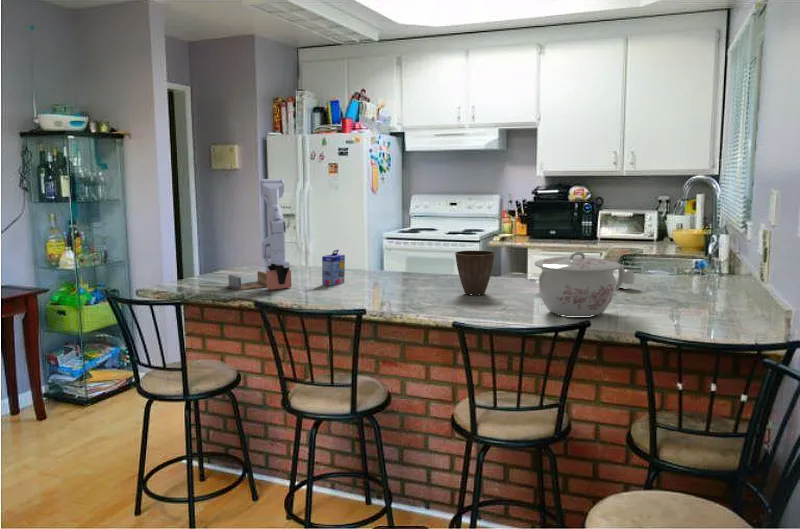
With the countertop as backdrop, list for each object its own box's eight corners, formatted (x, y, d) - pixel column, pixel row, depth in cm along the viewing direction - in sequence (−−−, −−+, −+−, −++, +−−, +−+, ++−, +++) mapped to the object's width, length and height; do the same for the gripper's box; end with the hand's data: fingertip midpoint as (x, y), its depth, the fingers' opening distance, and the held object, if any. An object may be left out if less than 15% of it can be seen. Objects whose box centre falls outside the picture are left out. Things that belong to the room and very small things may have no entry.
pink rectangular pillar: (286, 285, 265) (286, 268, 264) (291, 287, 262) (290, 270, 261) (266, 288, 260) (266, 271, 259) (271, 289, 257) (270, 272, 256)
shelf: (261, 282, 275) (261, 271, 274) (272, 286, 267) (272, 274, 266) (227, 287, 265) (226, 275, 264) (237, 290, 257) (237, 278, 257)
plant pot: (447, 294, 246) (447, 253, 244) (467, 288, 258) (468, 249, 256) (481, 299, 237) (482, 256, 235) (501, 293, 249) (501, 252, 247)
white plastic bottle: (598, 282, 272) (598, 263, 271) (635, 289, 256) (636, 269, 255) (584, 284, 268) (585, 265, 267) (621, 291, 252) (622, 270, 251)
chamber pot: (524, 319, 206) (526, 254, 203) (542, 302, 231) (543, 245, 228) (616, 327, 195) (619, 259, 192) (624, 308, 220) (627, 248, 217)
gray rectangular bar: (231, 285, 266) (231, 274, 265) (241, 288, 259) (240, 277, 258) (228, 285, 265) (228, 275, 264) (238, 288, 258) (237, 277, 257)
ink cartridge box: (332, 286, 266) (332, 251, 264) (321, 285, 268) (320, 250, 266) (345, 282, 274) (345, 248, 272) (334, 281, 277) (334, 248, 275)
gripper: (260, 249, 262) (261, 282, 264) (277, 252, 251) (278, 287, 253) (276, 247, 266) (277, 280, 268) (293, 251, 255) (294, 284, 257)
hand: (279, 283), depth 261 cm, fingers closed on pink rectangular pillar, 4 cm apart
